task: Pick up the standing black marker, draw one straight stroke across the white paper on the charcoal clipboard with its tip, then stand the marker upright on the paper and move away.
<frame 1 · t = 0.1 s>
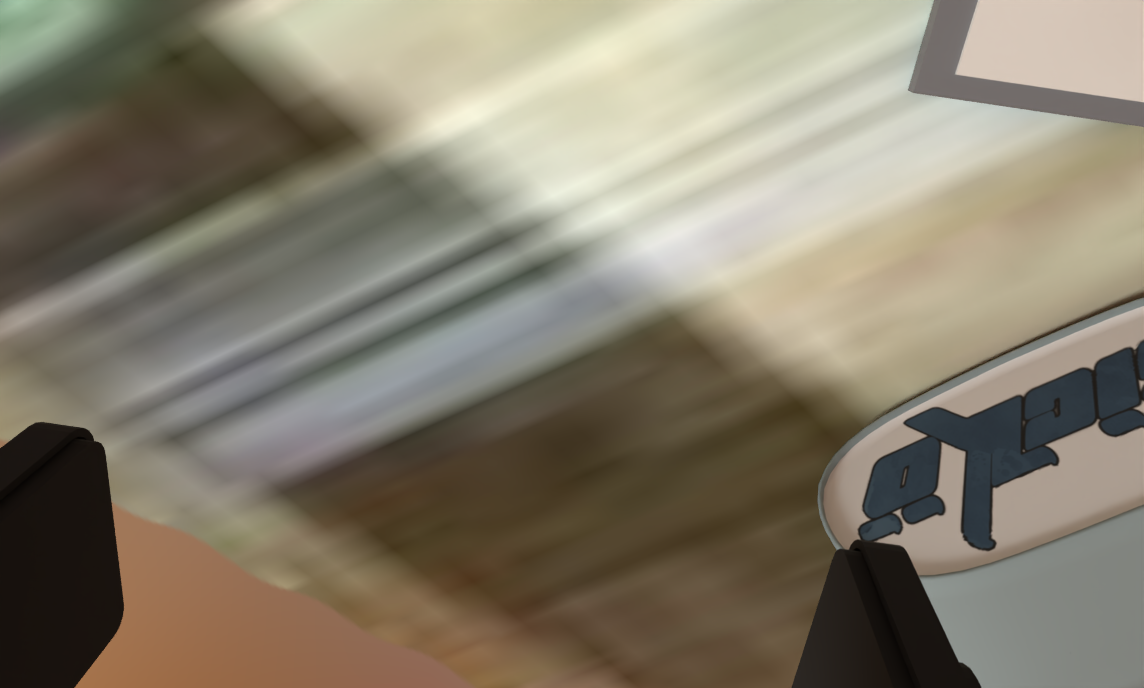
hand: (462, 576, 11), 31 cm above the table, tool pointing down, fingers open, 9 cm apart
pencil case: (1057, 487, 46), on the table
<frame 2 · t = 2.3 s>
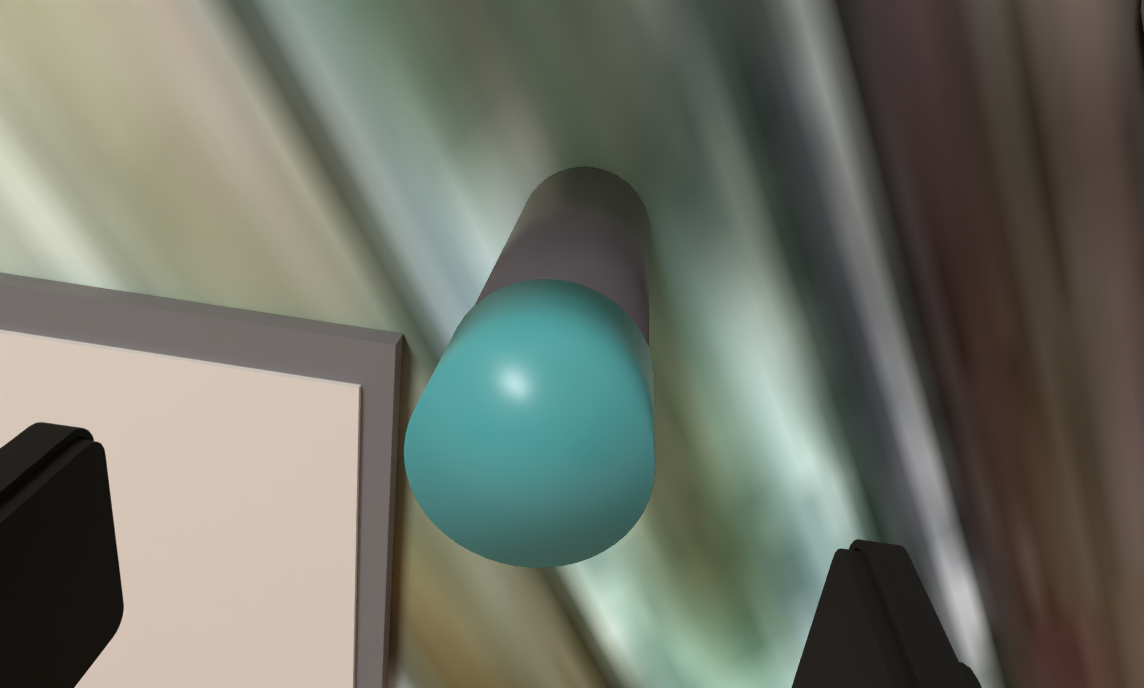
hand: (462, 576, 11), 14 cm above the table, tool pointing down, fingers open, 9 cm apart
notepad: (146, 594, 31), on the table
marker: (584, 231, 24), on the table
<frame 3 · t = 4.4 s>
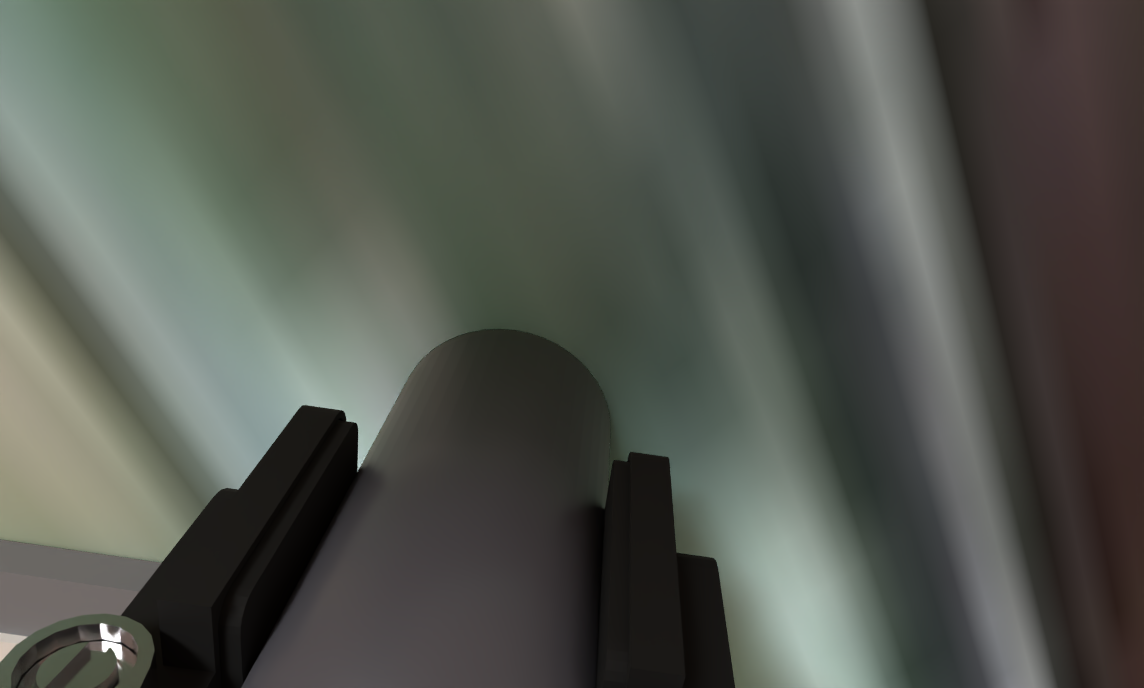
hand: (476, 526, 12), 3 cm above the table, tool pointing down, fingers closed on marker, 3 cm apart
marker: (504, 426, 14), on the table, touching gripper
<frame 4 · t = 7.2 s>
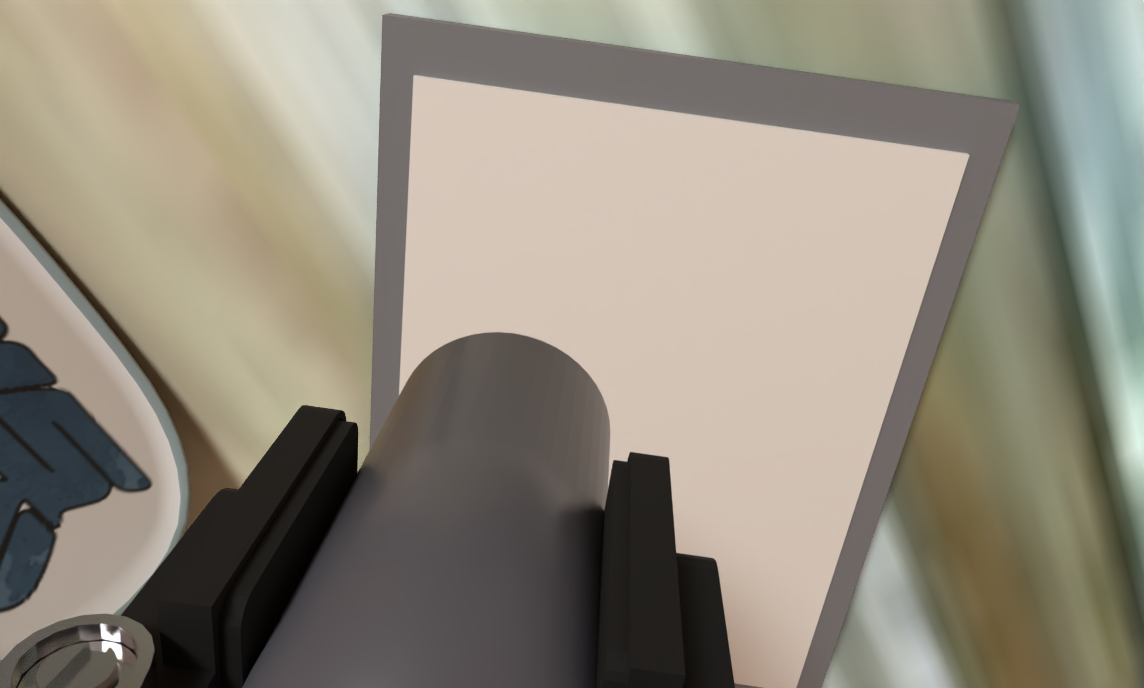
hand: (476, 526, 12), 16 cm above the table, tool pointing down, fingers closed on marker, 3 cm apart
notepad: (633, 416, 29), on the table
marker: (503, 430, 14), point 14 cm above the table, touching gripper
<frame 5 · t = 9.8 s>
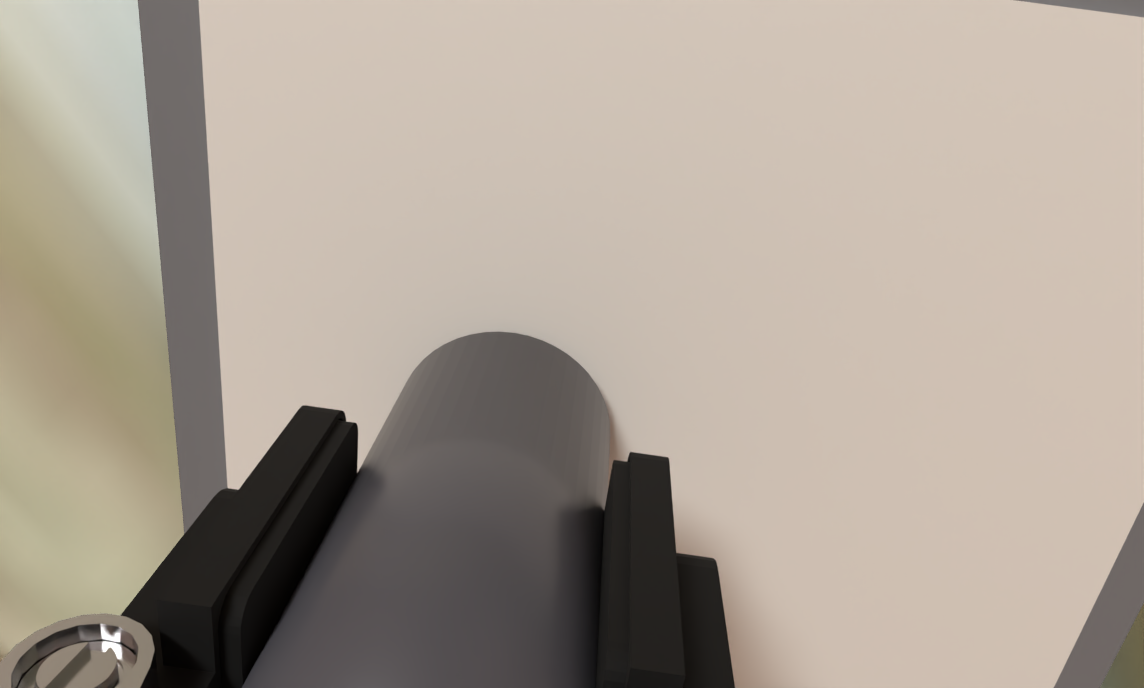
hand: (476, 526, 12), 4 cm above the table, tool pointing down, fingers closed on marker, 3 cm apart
notepad: (650, 545, 17), on the table
marker: (503, 429, 14), point 1 cm above the table, touching gripper
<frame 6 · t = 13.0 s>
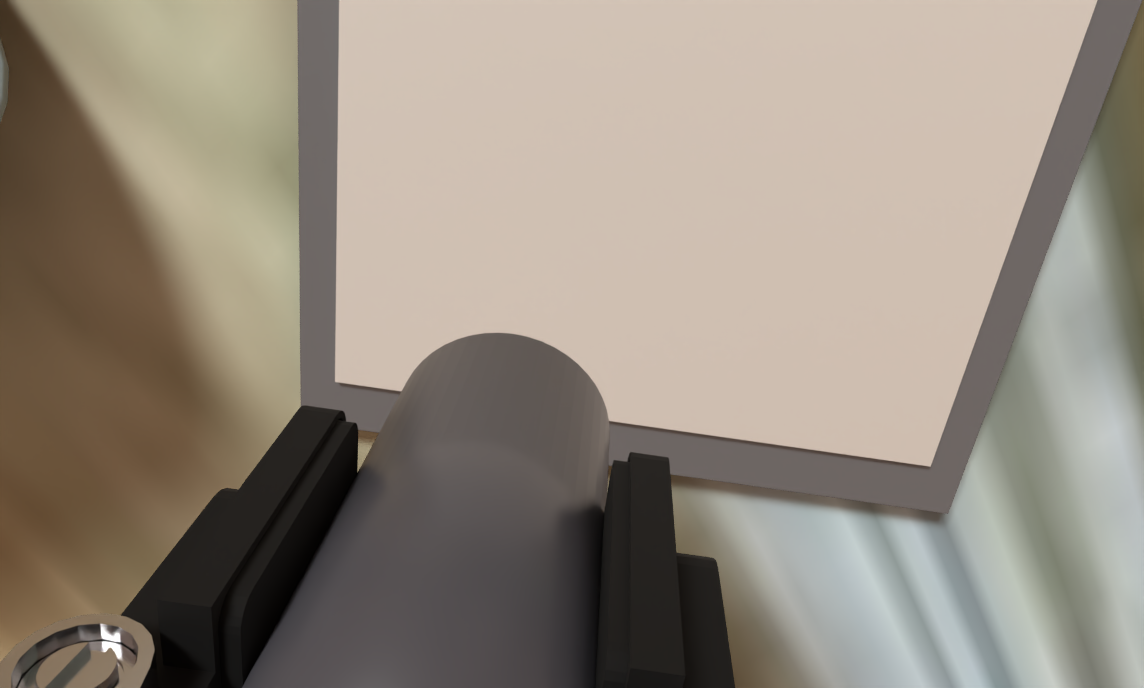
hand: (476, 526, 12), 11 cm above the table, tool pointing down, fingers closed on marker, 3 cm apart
notepad: (704, 0, 19), on the table
marker: (503, 430, 14), point 8 cm above the table, touching gripper
when the fingers open (5 cm above the table, at t = 15.6 s): marker drops 1 cm, resting on notepad.
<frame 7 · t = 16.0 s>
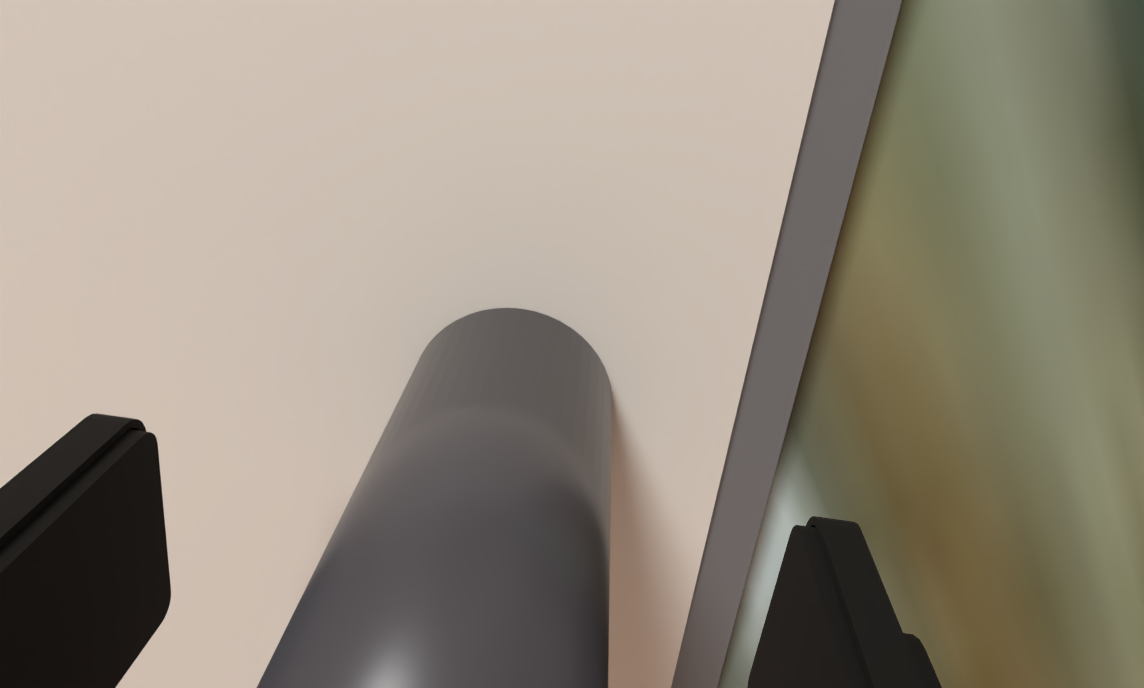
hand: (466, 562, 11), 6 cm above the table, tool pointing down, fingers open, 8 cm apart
notepad: (310, 297, 16), on the table
marker: (511, 400, 15), point 1 cm above the table, touching notepad
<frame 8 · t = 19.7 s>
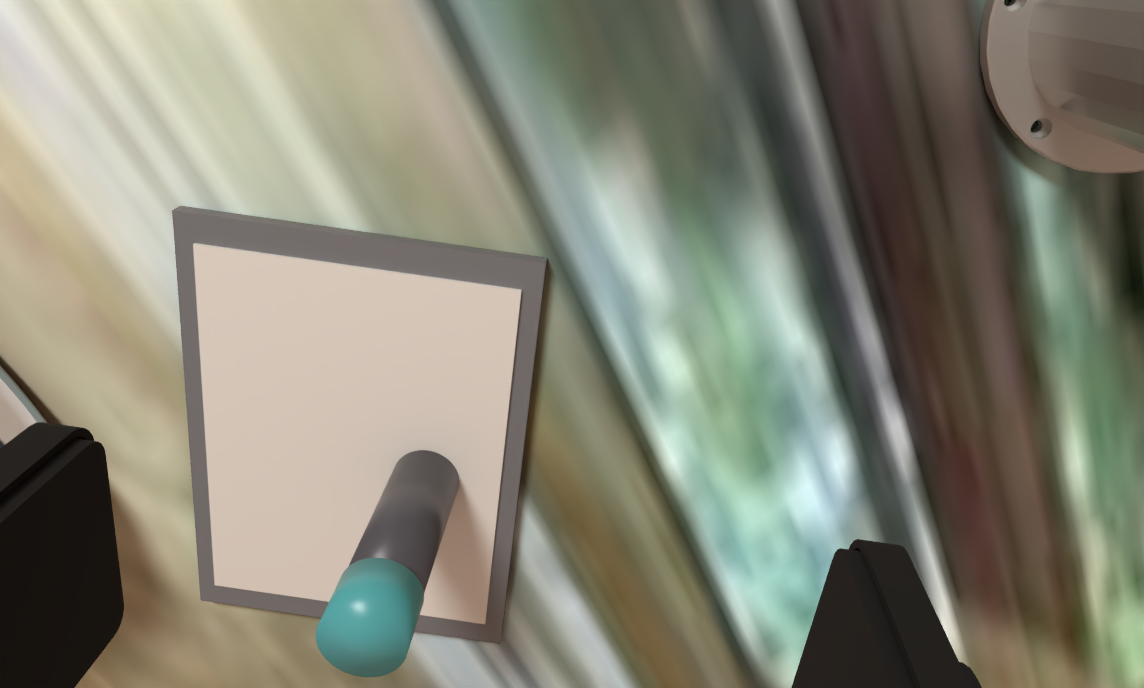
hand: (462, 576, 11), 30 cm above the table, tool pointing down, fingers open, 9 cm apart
notepad: (358, 442, 46), on the table
marker: (426, 478, 45), point 1 cm above the table, touching notepad
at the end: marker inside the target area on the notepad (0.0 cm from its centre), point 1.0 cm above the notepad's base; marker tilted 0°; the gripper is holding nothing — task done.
